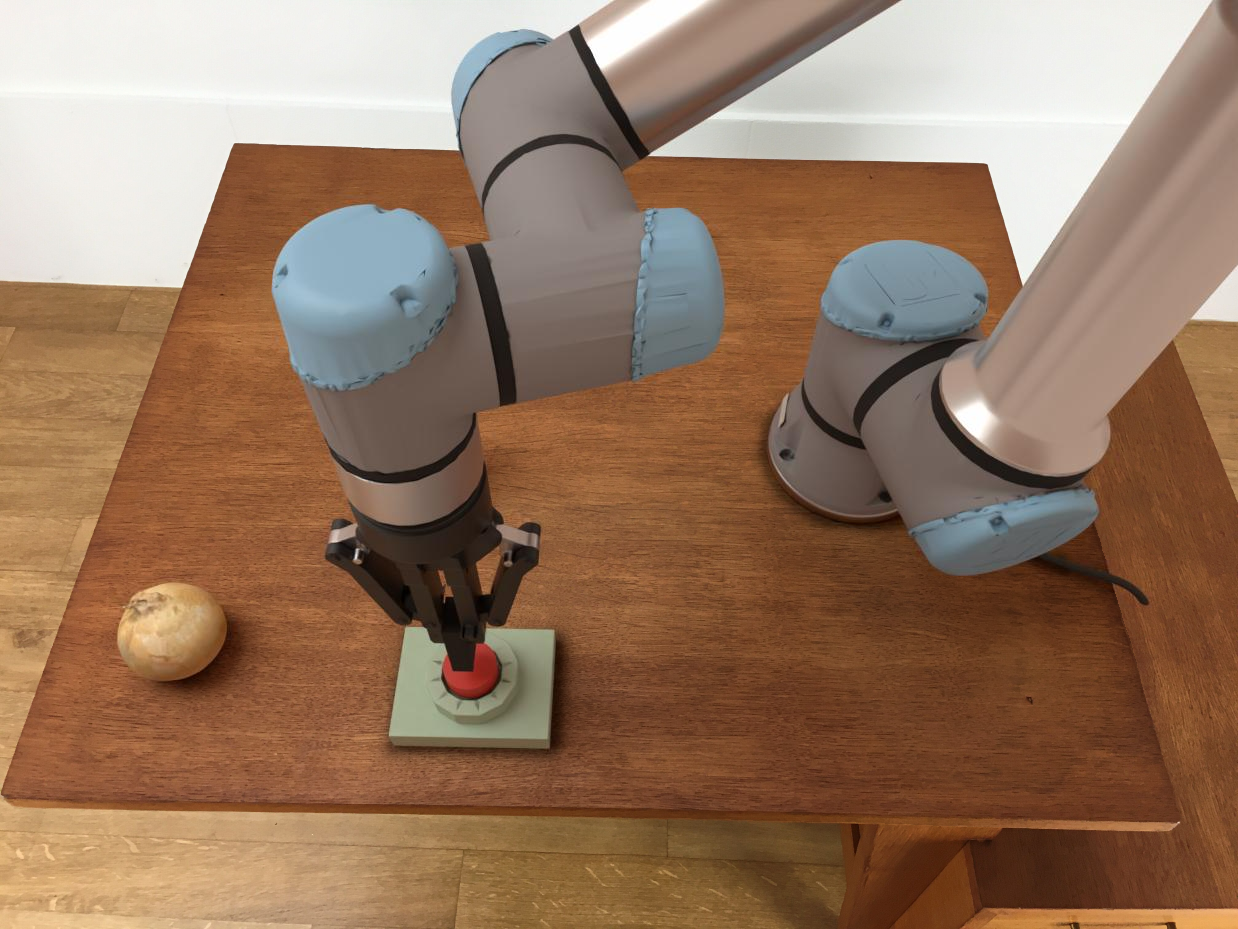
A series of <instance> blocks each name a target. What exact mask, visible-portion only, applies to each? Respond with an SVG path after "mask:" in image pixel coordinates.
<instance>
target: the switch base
mask: <svg viewBox="0 0 1238 929" xmlns="http://www.w3.org/2000/svg"><path fill="white" fill-rule="evenodd" d="M484 643H485V644H487V645H488V646H489V647H490V648H491V649H492V650H493V652H494V654H495V656H496V660H497V665H498V678H497V681H496V683H495V685H494V686H493V688H492V689H491V690H490V691H489V692H487V693H486V694H484V695H482V696H480V697H477V698H464V697H461V696H458V695H456V694H455V693H454V692H453V691H452V690H451V689H450V688H449V686H448V684H447V681H446V678H445V675H444V672H443V662H444V659H445V657H446V655H447V651H446V648H445V645H444V644H441V643H433V642H432V641H431V640H430V638H429V635H428V632H427V629H426V628H424V627H423V626H405V627H404V635H403V640H402V647H401V655H400V660H399V666H398V673H397V678H396V686H395V693H394V699H393V705H392V712H391V718H390V723H389V725H390V726H389V731H388V738H389V740H390V741H391V743H392V745H393V747H436V748H437V747H441V748H443V747H444V748H445V747H446V748H495V749H496V748H498V749H503V748H504V749H544V750H547V749H550V748H551V734H552V733H551V730H552V713H553V697H554V695H553V694H554V679H555V677H554V676H555V662H556V661H555V660H556V646H557V645H556V643H557V640H556V631H555V629H547V628H546V629H545V628H544V629H542V628H493V627H491V628H487V627H486V635H485V641H484Z"/></svg>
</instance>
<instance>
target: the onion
mask: <svg viewBox="0 0 1238 929" xmlns="http://www.w3.org/2000/svg"><path fill="white" fill-rule="evenodd" d="M121 608H122V609H124V613H123V615H122V616H121V619H120V621H119V623H118V628H117V634H116V635H117V636H116V640H117V647H118V651H119V654H120V655H121V657H122V659H123V661H124V663H125V664H126V665H127V667H128V668H129V669H130V670H131V671H132V672H134V673H135V674H136V675H137V676H139V677H142V678H145V679H148V680H152V681H159V682H170V681H178V680H179V681H180V680H184V679H186V678H189V677H191V676H193V675H196V674H197V673H198V674H199V673H200V672H201V671H203V670H204V669H206V668H207V667H208V665H210V664H211V663H212V662H213V661H214V659H215V658H216V657H217V656H218V654H219V653H220V651H221V650H222V647H223V646H224V644H225V641H226V637H227V633H228V632H227V631H228V623H227V619H226V614H225V612H224V610H223V608H222V606H221V604H220V603H219V601H218V600H217V599H216V597H214V596H213V595H212V594H211V593H209V591H207V590H205V589H204V588H202V587H199V586H197V585H193V584H189V583H184V582H166V583H161V584H158V585H154V586H152V587H148V588H146V589H144V590H141V591H138V592H137V593H135V594H134V595H133V596H132V597H131V598H130V600H129V601H128V604H127V605H122V607H121Z"/></svg>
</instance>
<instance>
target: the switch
mask: <svg viewBox="0 0 1238 929" xmlns="http://www.w3.org/2000/svg"><path fill="white" fill-rule="evenodd" d="M443 672H444V675H445V678H446V681H447V684H448V686H449V688H450V689H451V690H452V691H453V692H454V693H455V694H456V695H458V696H461V697H464V698H477V697H480V696H482V695H484V694H486V693H487V692H489V691H490V690H491V689H492V688H493V686H494V685H495V683H496V681H497V678H498V665H497V660H496V656H495V654H494V652H493V650H492V649H491V648H490V647H489V646H488V645H487V644H485V643H483V644H476V652H475V661H474V670H473V672H459V671H453V670H452V667H451V664H450V661H449V657H448V654H447V655H446V657H445V659H444V662H443Z"/></svg>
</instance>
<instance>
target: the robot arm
mask: <svg viewBox="0 0 1238 929" xmlns="http://www.w3.org/2000/svg"><path fill="white" fill-rule="evenodd" d="M901 1H902V0H612V1H610V2H609V3H608V4H606V5H604V6H603V7H601V8H600V9H598V10H597V11H596V12H594V13H593V14H591V15H589V16H588V17H587V18H585V19H583V20H582V21H580V22H579V23H578V24H576V25H574V27H572V28H570V29H569V30H567V31H565V32H564V33H562V34H560V35H559V36H557V37H555V38H552V37H550V36H549V35H547V34H545V33H543V32H540V31H537V30H533V29H528V28H520V29H519V30H508V31H502V32H499V31H498V32H495V33H492V34H489V35H488V36H487V37H485V38H483V39H481V40H480V41H479V42H477V43H476V44H475V45H474V46H473V47H472V48H471V49H469V51H467V53H466V54H465V55H464V57H463V58H462V60H461V61H460V62H459V64H458V67H457V69H456V71H455V72H454V76H453V80H452V84H451V91H450V98H451V99H450V103H451V109H452V114H453V120H454V125H455V131H456V134H455V137H456V139H457V147H458V151H459V153H460V155H461V157H462V159H463V164H464V166H465V167H466V169H467V171H468V174H469V178H470V180H471V183H472V185H473V188H474V191H475V194H476V197H477V200H478V203H479V206H480V208H481V212H482V217H483V221H484V224H485V227H486V231H487V234H488V237H489V240H486V241H481V242H476V243H471V244H466V245H458V246H453V247H448V245H447V243H446V241H445V238H444V237H443V235H442V234H441V232H440V231H439V229H437V227H435V225H434V224H432V222H430V221H428V220H427V219H426V218H424V217H423V216H421V215H419V214H418V213H416V212H414V211H411V210H409V209H405V208H401V207H396V208H395V209H392V210H387V209H384V208H381V207H379V206H378V205H377V204H374V203H369V204H368V203H367V204H356V205H351V206H345V207H340V208H337V209H334V210H332V211H329V212H327V213H324V214H321V215H320V216H318V217H316V218H314V219H313V220H311V221H309V222H307V223H306V224H305V225H303V226H302V227H301V228H300V229H298V230H297V231H296V232H295V233H294V234H293V235H292V236H291V237H290V238H289V240H287V242H286V243H285V244H284V246H283V248H281V251H280V253H279V255H278V256H277V258H276V261H275V265H274V268H273V272H272V282H271V295H272V298H273V302H274V305H275V307H276V311H277V314H278V318H279V321H280V323H281V324H280V325H281V327H282V330H283V333H284V336H285V340H286V343H287V346H288V351H289V361H290V364H291V366H292V368H293V371H294V372H295V373H296V374H297V376H298V378H299V381H300V383H301V385H302V387H303V390H304V392H305V395H306V397H307V399H308V402H309V404H310V407H311V409H312V411H313V414H314V416H315V418H316V421H317V423H318V425H319V428H320V430H321V434H322V437H323V440H324V441H325V444H326V446H327V448H328V450H329V453H330V456H331V460H332V463H333V465H334V468H335V470H336V473H337V477H338V480H339V483H340V485H341V488H342V490H343V492H344V494H345V496H346V499H347V501H348V504H349V507H350V510H351V512H352V514H353V517H354V519H355V523H353V522H352V521H350V520H348V519H345V518H334V519H333V520H332V521H331V526H330V531H329V535H328V539H327V544H326V549H325V554H324V559H325V561H327V562H328V563H330V564H332V565H333V566H335V567H338V568H339V569H341V570H342V571H344V572H346V573H348V574H349V576H351V577H352V578H353V579H354V580H355V582H356V583H357V584H359V586H360V587H361V588H362V589H363V590H364V591H365V593H367V595H368V596H369V597H370V598H371V599H372V600H373V601H374V602H375V603H376V605H378V606H379V608H380V609H381V610H382V611H383V612H384V613H385V614H386V615H387V616H388V618H389V619H390V620H392V621H393V623H395V624H396V625H399V626H403V627H404V626H410V625H411V624H412V623H413V621H417V622H420V623H421V627H424V628H426V629H427V632H428V635H429V638H430V640H431V641H432V642H433V643H441V644H444V645H445V648H446V651H447V654H448V657H449V661H450V664H451V667H452V670H453V671H459V672H473V670H474V661H475V652H476V644H483V643H484V641H485V635H486V628H487V626H491V627H496V628H500V627H503V626H505V625H506V623H507V621H508V618H509V616H510V612H511V610H512V608H513V604H514V602H515V598H516V596H517V594H518V591H519V589H520V587H521V586H520V585H521V584H522V580H523V578H524V576H525V575H527V574H528V573H529V572H531V571H532V570H533V569H534V568H535V567H537V566H538V565H539V562H540V561H539V560H540V549H541V535H542V534H541V533H542V526H541V525H540V524H539V523H537V522H533V521H527V522H524V523H522V524H521V525H520V526H519V527H518V528H516V527H514V526H511V525H508V524H505V520H504V517H503V515H502V514H501V512H500V511H499V510H498V509H496V508H495V507H494V505H493V501H492V495H491V489H490V484H489V478H488V472H487V465H486V461H485V453H484V450H483V449H484V448H483V442H482V436H481V430H480V424H479V418H478V413H480V412H485V411H490V410H494V409H498V408H500V407H501V408H502V407H506V406H509V405H518V404H522V403H526V402H532V401H536V400H542V399H546V398H551V397H556V396H562V395H567V394H572V393H577V392H582V391H586V390H591V389H597V388H601V387H607V386H612V385H616V384H621V383H627V382H631V383H635V382H639V381H640V382H641V381H642V380H643V379H644V378H645V377H648V376H650V375H654V374H658V373H661V372H665V371H666V372H667V371H669V370H673V369H678V368H681V367H684V366H688V365H691V364H695V363H700V362H701V361H704V360H706V359H707V358H708V357H710V356H711V355H712V354H713V352H715V350H716V349H717V347H718V345H719V343H720V341H721V338H722V336H723V335H722V334H723V327H724V322H725V316H726V298H725V286H724V279H723V272H722V268H721V263H720V258H719V256H718V252H717V249H716V246H715V243H714V240H713V237H712V236H711V233H710V231H709V229H708V227H707V225H706V224H705V222H704V221H703V219H701V217H699V216H698V215H696V214H694V213H693V212H691V211H690V210H689V209H687V208H685V207H667V208H665V207H664V208H663V207H662V208H656V207H652V208H651V207H647V209H646V210H643V211H640V209H639V207H638V205H637V203H636V201H635V198H634V195H633V194H632V191H631V189H630V187H629V185H628V183H627V181H626V178H625V176H624V173H623V172H624V171H626V170H627V169H629V168H631V167H633V166H634V165H636V164H637V163H639V162H641V161H642V160H644V159H645V158H646V157H648V156H650V155H651V154H652V153H653V152H656V150H658V149H660V148H662V147H664V146H665V145H667V144H669V143H670V142H671V141H673V140H674V139H677V138H678V137H679V136H681V135H683V134H684V133H687V132H688V131H690V130H691V129H693V128H695V127H696V126H697V125H699V124H701V123H703V122H704V121H706V120H708V119H709V118H711V117H712V116H714V115H716V114H717V113H719V112H721V111H722V110H724V109H726V108H728V107H730V106H731V105H732V104H735V102H737V101H739V100H741V99H742V98H744V97H745V96H747V95H749V94H751V93H752V92H754V91H756V90H757V89H758V88H760V87H762V86H763V85H765V84H767V83H768V82H770V81H772V80H773V79H775V78H777V77H778V76H780V75H782V74H783V73H785V72H787V71H788V70H791V69H792V68H793V67H795V66H797V65H798V64H800V63H801V62H804V60H807V59H808V58H809V57H812V56H813V55H814V54H816V53H818V52H820V51H821V50H822V49H824V48H826V47H828V46H829V45H831V44H832V43H834V42H836V41H837V40H839V39H841V38H842V37H844V36H846V35H847V34H849V33H850V32H853V31H854V30H856V29H857V28H859V27H860V26H863V25H864V24H865V23H867V22H869V21H870V20H872V19H873V18H875V17H877V16H878V15H880V14H882V13H883V12H885V11H887V10H888V9H890V8H891V7H893V6H895V5H896V4H898V3H900V2H901ZM1237 267H1238V0H1211V1H1210V3H1209V4H1208V6H1207V8H1206V9H1205V11H1204V12H1203V13H1202V15H1201V16H1200V18H1199V20H1198V21H1197V23H1196V24H1195V26H1194V27H1193V29H1192V30H1191V32H1190V33H1189V35H1188V36H1187V38H1186V39H1185V41H1184V42H1183V44H1182V45H1181V47H1180V48H1179V50H1178V51H1177V52H1176V54H1175V56H1174V57H1173V59H1172V60H1171V62H1170V63H1169V65H1168V67H1167V68H1166V69H1165V71H1164V72H1163V74H1162V75H1161V77H1160V78H1159V80H1158V81H1157V83H1156V85H1155V86H1154V87H1153V89H1152V91H1151V92H1150V93H1149V95H1148V97H1147V98H1146V100H1145V101H1144V103H1142V105H1141V107H1140V108H1139V110H1138V111H1137V113H1136V115H1135V116H1134V118H1133V119H1132V120H1131V122H1130V124H1129V125H1128V127H1127V128H1126V130H1125V131H1124V133H1123V134H1122V136H1121V137H1120V138H1119V141H1118V142H1117V144H1116V145H1115V147H1114V148H1113V150H1111V153H1109V155H1108V157H1107V158H1106V159H1105V161H1104V163H1103V165H1102V166H1101V168H1100V169H1099V171H1098V172H1097V174H1096V175H1095V177H1094V178H1093V180H1092V181H1091V183H1090V184H1089V186H1088V187H1087V189H1086V190H1085V192H1084V193H1083V195H1082V196H1081V197H1080V199H1079V200H1078V202H1077V204H1076V205H1075V207H1074V208H1073V210H1072V211H1071V213H1070V214H1069V216H1068V217H1067V219H1066V220H1065V221H1064V223H1063V225H1062V226H1061V228H1060V229H1059V231H1058V232H1057V234H1056V236H1055V237H1054V238H1053V240H1052V241H1051V243H1050V244H1049V246H1048V248H1046V251H1045V252H1044V253H1043V255H1042V257H1041V258H1040V260H1039V261H1038V263H1037V264H1036V266H1034V269H1033V270H1032V272H1031V273H1030V275H1029V276H1028V278H1027V279H1026V281H1025V282H1024V284H1023V285H1022V287H1021V288H1020V290H1019V291H1018V293H1017V294H1016V296H1015V297H1014V299H1013V300H1012V302H1011V303H1010V305H1009V306H1008V307H1007V309H1006V311H1005V312H1004V314H1003V315H1002V317H1001V319H1000V320H999V322H998V323H997V325H996V326H995V328H994V329H993V330H992V332H991V333H990V335H989V336H988V337H987V338H986V336H985V335H984V333H983V331H982V329H981V327H980V323H981V322H982V320H983V319H984V318H985V316H986V315H987V312H988V300H989V289H988V285H987V282H986V279H985V278H984V276H983V275H982V273H981V272H980V271H979V269H977V268H976V266H975V265H974V264H972V263H971V262H970V261H969V260H968V259H966V258H965V257H964V256H962V255H960V254H958V253H957V252H955V251H952V250H950V249H948V248H945V247H942V246H940V245H936V244H930V243H926V242H923V241H919V240H911V239H889V240H881V241H876V242H872V243H869V244H866V245H863V246H860V247H859V248H856V249H854V250H853V251H851V252H849V253H848V254H847V255H845V256H844V257H843V258H842V259H840V261H839V262H838V263H837V265H836V266H835V268H834V269H833V271H832V273H831V275H830V277H829V281H828V283H827V286H826V288H825V290H824V291H823V293H822V294H821V297H820V303H819V305H820V310H819V314H818V319H817V322H816V326H815V330H814V334H813V338H812V342H811V345H810V349H809V353H808V358H807V362H806V365H805V368H804V374H803V378H802V380H801V381H800V382H799V383H798V384H797V385H796V386H795V387H794V389H793V390H792V391H791V392H790V393H789V392H787V393H786V395H785V396H784V397H783V398H782V402H781V404H780V405H779V407H777V408H778V409H777V411H776V412H775V414H774V416H773V418H772V420H771V423H770V426H769V429H768V430H769V431H768V434H767V440H766V455H767V460H768V463H769V468H770V470H771V472H772V474H773V476H774V478H775V479H776V481H777V482H778V484H779V485H780V487H781V488H782V489H783V490H784V491H785V493H786V494H788V496H789V497H791V498H792V499H793V500H794V501H795V502H797V504H799V505H801V506H802V507H804V508H805V509H807V510H809V511H811V512H813V513H814V514H816V515H819V516H822V517H824V518H827V519H830V520H833V521H838V522H842V523H850V524H871V523H878V522H882V521H883V522H884V521H886V520H889V519H892V518H895V517H897V516H899V515H900V517H901V519H902V521H903V524H904V525H905V528H906V529H907V533H908V535H909V536H910V537H911V538H912V539H914V540H915V542H916V544H917V545H918V547H919V549H920V550H921V551H922V553H923V554H924V556H925V558H926V559H927V561H928V562H929V564H930V565H931V566H932V567H933V568H935V569H937V570H938V571H940V572H941V573H944V574H947V575H949V576H960V577H963V576H965V577H966V576H975V575H982V574H987V573H992V572H996V571H1000V570H1003V569H1007V568H1009V567H1013V566H1016V565H1018V564H1021V563H1024V562H1027V561H1029V560H1032V559H1034V558H1038V559H1040V560H1042V561H1045V562H1047V563H1050V564H1052V565H1055V566H1058V567H1061V568H1064V569H1066V570H1069V571H1071V572H1075V573H1078V574H1081V575H1084V576H1086V577H1090V578H1094V579H1097V580H1100V581H1104V582H1107V583H1111V584H1113V585H1116V586H1118V587H1120V588H1122V589H1124V590H1126V591H1127V592H1129V593H1130V594H1131V595H1133V596H1134V597H1135V599H1136V600H1137V601H1138V602H1139V604H1141V605H1143V606H1149V605H1150V601H1149V599H1148V598H1147V595H1145V593H1144V592H1143V591H1142V590H1141V589H1140V588H1138V587H1137V586H1136V585H1135V584H1133V583H1132V582H1130V581H1129V580H1127V579H1124V578H1122V577H1120V576H1117V575H1114V574H1111V573H1109V572H1106V571H1102V570H1099V569H1094V568H1091V567H1088V566H1084V565H1081V564H1078V563H1076V562H1074V561H1071V560H1068V559H1065V558H1063V557H1060V556H1057V555H1053V554H1052V553H1049V552H1050V551H1052V550H1054V549H1057V548H1058V547H1060V546H1062V545H1064V544H1065V543H1067V542H1069V541H1070V540H1073V539H1074V538H1076V537H1077V536H1078V535H1080V534H1081V533H1083V532H1084V531H1086V529H1087V528H1088V527H1090V526H1091V525H1092V524H1093V523H1094V522H1095V520H1096V519H1097V517H1098V515H1099V511H1100V509H1099V505H1098V502H1097V499H1096V498H1095V497H1096V493H1095V491H1094V489H1093V488H1089V487H1088V486H1087V484H1086V483H1085V480H1084V479H1085V477H1087V475H1088V474H1089V473H1090V472H1091V471H1092V469H1094V468H1095V467H1096V465H1097V464H1098V463H1099V462H1100V461H1101V460H1102V459H1103V458H1104V455H1105V454H1106V452H1107V450H1108V448H1109V445H1110V441H1111V424H1110V419H1109V416H1108V414H1109V413H1110V412H1111V411H1112V409H1114V408H1115V406H1116V405H1117V404H1118V403H1119V401H1120V400H1121V399H1122V398H1123V397H1124V396H1125V395H1126V393H1128V391H1130V389H1131V388H1132V386H1134V384H1135V383H1136V382H1137V381H1138V380H1139V379H1140V378H1141V377H1142V375H1143V374H1144V373H1145V372H1146V371H1147V370H1148V368H1149V367H1150V366H1151V365H1152V364H1153V363H1154V362H1155V361H1156V359H1157V358H1158V357H1159V356H1160V355H1161V354H1162V352H1163V351H1164V350H1165V349H1166V348H1167V347H1168V346H1169V344H1170V343H1171V342H1172V341H1173V340H1174V339H1175V338H1176V336H1177V335H1178V334H1179V333H1180V332H1181V331H1182V329H1184V327H1185V326H1186V325H1187V324H1188V323H1189V322H1190V320H1191V319H1192V318H1193V317H1194V316H1195V315H1196V313H1197V312H1198V311H1199V310H1200V309H1201V308H1202V307H1203V305H1205V303H1206V302H1207V301H1208V300H1209V299H1210V298H1211V296H1212V295H1213V294H1214V293H1215V292H1216V291H1217V290H1218V288H1219V287H1220V286H1221V285H1222V284H1223V283H1224V282H1225V280H1226V279H1227V278H1228V277H1229V276H1230V275H1231V274H1232V272H1233V271H1234V270H1235V269H1236V268H1237ZM498 547H499V554H498V555H499V556H500V559H499V562H498V565H497V568H496V572H495V574H494V578H493V581H492V583H491V587H490V590H489V591H490V592H489V593H485V594H484V593H483V589H482V584H481V580H480V575H479V570H478V566H477V563H478V562H480V561H481V560H482V559H484V558H485V557H486V556H488V555H489V554H490V553H491V552H492V551H494V550H495V549H496V548H498ZM440 572H443V575H444V579H445V583H444V584H443V583H442V579H441V576H440ZM446 587H450V590H451V594H452V596H445V595H446ZM487 624H488V625H487Z"/></svg>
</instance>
